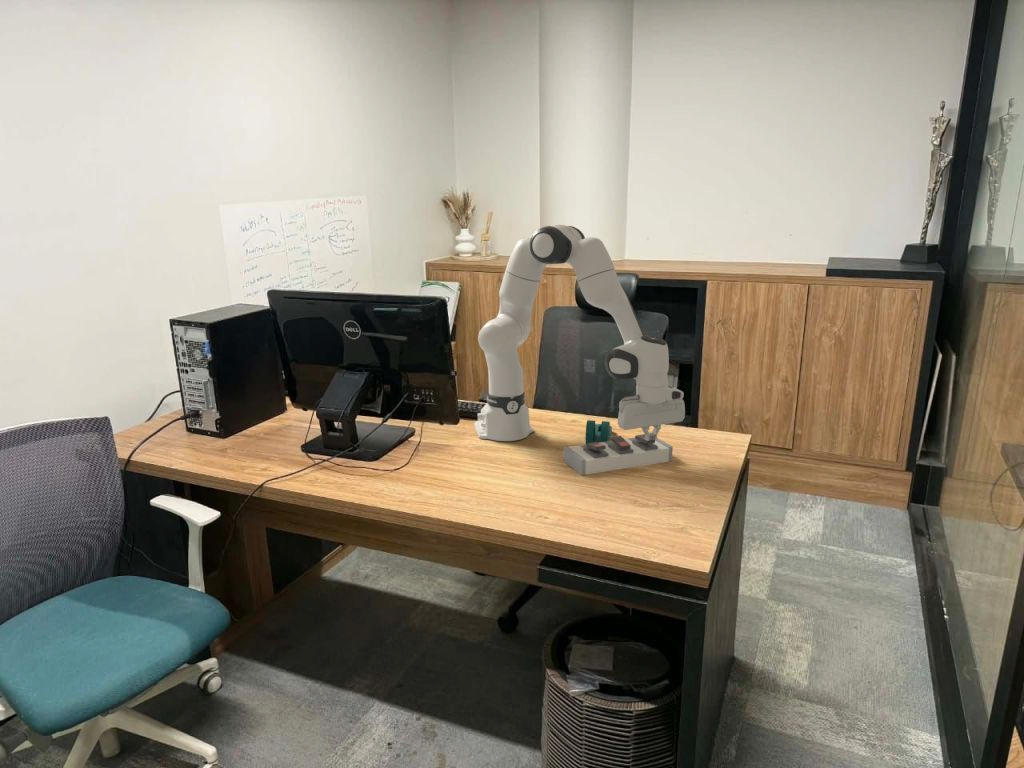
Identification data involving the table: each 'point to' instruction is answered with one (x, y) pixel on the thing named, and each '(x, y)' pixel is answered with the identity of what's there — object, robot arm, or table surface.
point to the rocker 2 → (620, 442)
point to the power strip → (616, 456)
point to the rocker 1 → (595, 446)
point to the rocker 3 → (643, 439)
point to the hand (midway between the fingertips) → (650, 439)
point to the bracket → (598, 432)
